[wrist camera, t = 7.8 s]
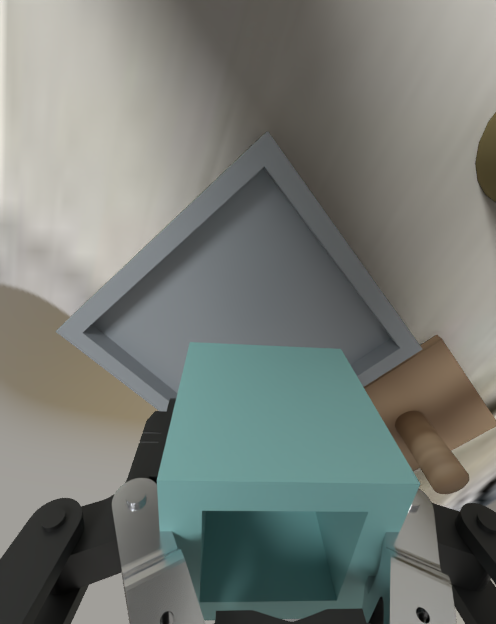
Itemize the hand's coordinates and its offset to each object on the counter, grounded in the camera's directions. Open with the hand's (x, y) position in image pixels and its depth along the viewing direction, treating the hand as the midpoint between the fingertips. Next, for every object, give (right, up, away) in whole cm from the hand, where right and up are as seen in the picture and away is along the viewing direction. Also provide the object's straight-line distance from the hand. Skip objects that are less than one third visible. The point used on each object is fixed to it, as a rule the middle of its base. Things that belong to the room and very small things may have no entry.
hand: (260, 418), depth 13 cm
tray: (-1, +4, +7) cm, 8 cm away
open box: (0, 0, +1) cm, 1 cm away
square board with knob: (+11, -4, +11) cm, 16 cm away
